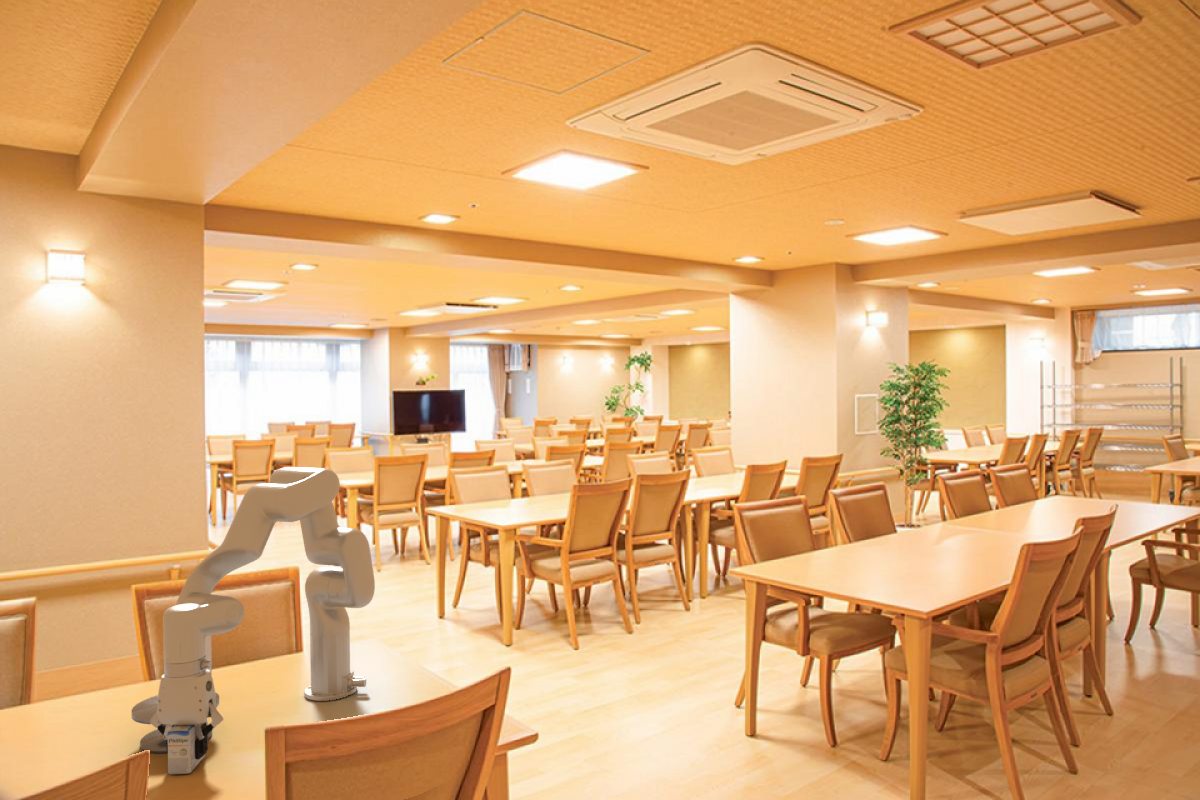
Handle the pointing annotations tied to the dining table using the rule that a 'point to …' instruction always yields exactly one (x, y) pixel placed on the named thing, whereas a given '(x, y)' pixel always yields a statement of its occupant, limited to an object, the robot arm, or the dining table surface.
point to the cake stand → (143, 715)
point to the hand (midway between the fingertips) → (187, 755)
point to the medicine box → (182, 749)
